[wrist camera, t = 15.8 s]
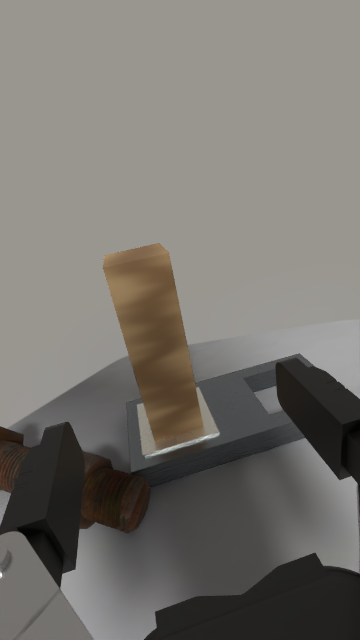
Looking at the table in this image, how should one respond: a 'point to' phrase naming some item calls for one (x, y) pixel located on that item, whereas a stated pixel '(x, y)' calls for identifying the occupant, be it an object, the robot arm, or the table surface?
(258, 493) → the table surface
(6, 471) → the bolt
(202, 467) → the socket plate
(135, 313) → the wooden peg
